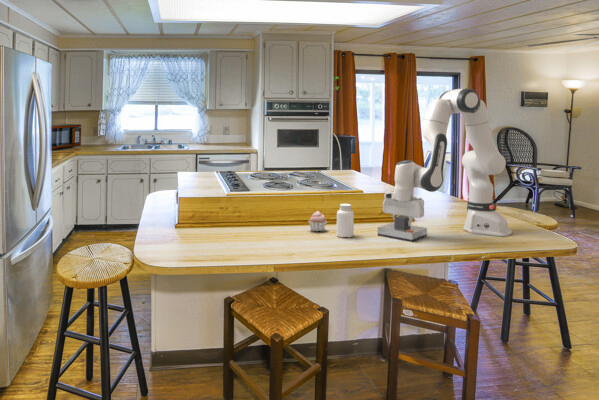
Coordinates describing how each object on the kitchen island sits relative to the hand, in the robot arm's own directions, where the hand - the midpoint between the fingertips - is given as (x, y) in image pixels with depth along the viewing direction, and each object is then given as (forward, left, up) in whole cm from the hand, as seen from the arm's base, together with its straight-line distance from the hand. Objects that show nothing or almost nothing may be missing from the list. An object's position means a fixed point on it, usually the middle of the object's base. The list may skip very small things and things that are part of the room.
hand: (402, 224), depth 227 cm
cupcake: (+36, +19, -6) cm, 41 cm away
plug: (0, 0, -4) cm, 4 cm away
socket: (0, 0, -5) cm, 5 cm away
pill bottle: (+20, +18, -6) cm, 27 cm away
